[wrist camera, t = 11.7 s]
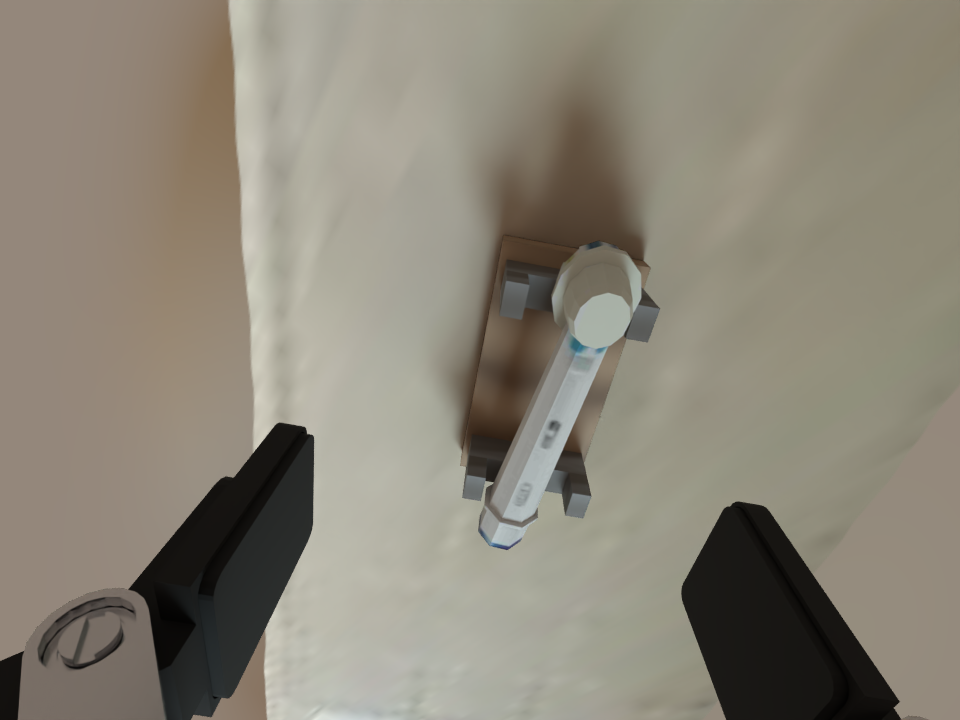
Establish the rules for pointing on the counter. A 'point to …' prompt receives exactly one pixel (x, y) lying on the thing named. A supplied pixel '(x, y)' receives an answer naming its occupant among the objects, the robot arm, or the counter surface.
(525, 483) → the white elongated piece
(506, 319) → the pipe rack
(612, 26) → the counter surface
